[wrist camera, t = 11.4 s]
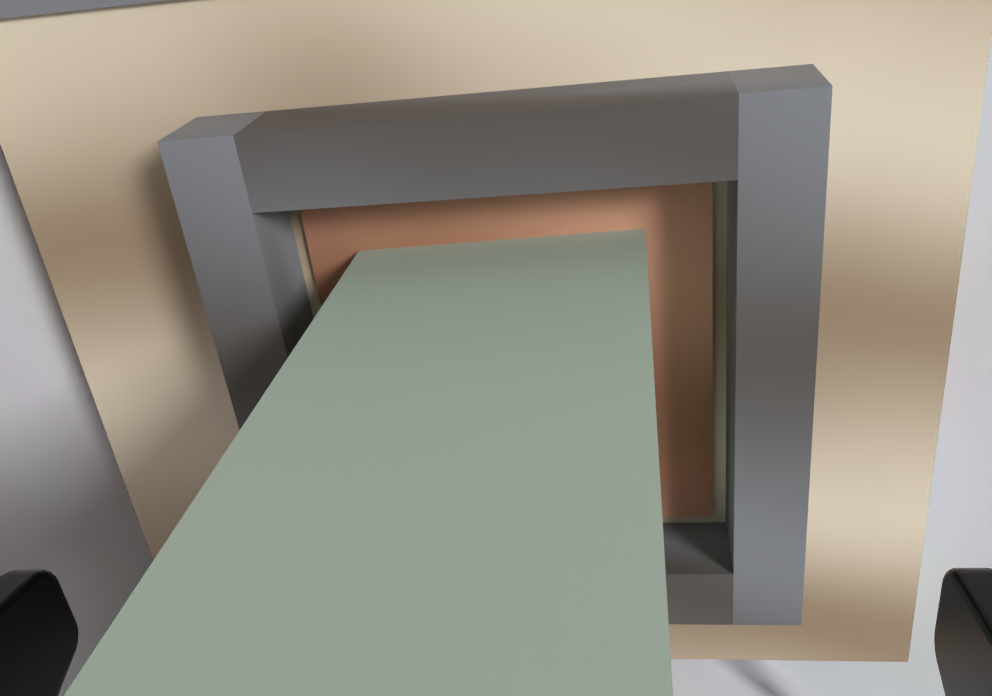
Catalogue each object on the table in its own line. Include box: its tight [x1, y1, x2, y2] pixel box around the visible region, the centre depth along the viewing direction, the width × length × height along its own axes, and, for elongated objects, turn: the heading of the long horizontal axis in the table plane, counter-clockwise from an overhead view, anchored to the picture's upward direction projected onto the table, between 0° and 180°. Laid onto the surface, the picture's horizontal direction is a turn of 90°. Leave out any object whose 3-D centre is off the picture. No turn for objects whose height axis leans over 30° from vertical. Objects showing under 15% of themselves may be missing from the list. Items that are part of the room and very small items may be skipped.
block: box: [64, 228, 673, 696], centre depth 10 cm, size 4×4×8 cm
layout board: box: [0, 0, 992, 662], centre depth 13 cm, size 15×13×2 cm
